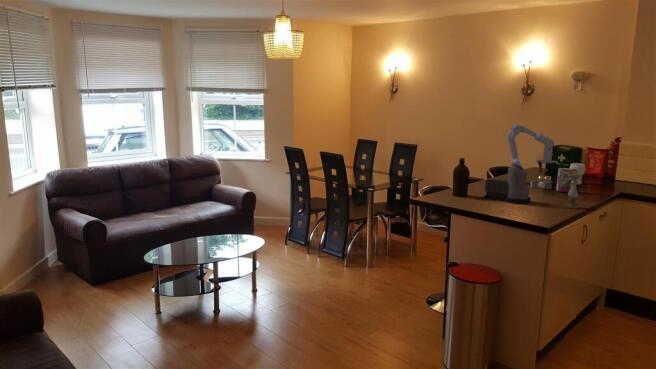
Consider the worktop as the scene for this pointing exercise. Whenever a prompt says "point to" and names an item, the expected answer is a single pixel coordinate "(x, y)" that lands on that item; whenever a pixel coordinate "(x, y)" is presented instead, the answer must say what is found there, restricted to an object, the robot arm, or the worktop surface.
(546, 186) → the scale
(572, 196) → the candle holder
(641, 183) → the worktop surface
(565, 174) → the candy bar box
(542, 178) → the spacer
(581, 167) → the cup
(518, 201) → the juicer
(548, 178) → the spacer
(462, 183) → the olive oil
